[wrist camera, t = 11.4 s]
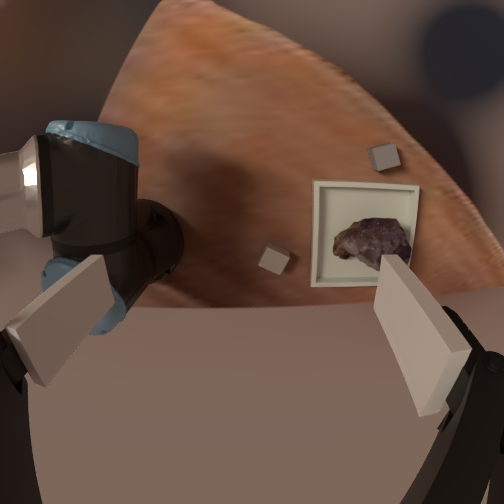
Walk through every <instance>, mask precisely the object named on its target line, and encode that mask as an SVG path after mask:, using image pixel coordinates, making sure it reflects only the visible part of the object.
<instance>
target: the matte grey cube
mask: <svg viewBox="0 0 504 504" xmlns="http://www.w3.org/2000/svg"><path fill="white" fill-rule="evenodd" d="M289 259H290V252H289V251H288V250H286V249H284V248H282V247H279V246H277V245H275V244H273V243H271V242H269V241H268V242H267V244H266V246H265V248H264V250H263V252H262V254H261V255H260V257H259V261H258V266H260V267H263V268H265V269H267V270H269V271H271V272H273V273H276V274H278V275H281V273H282V271H283V269H284V268H285V266H286V264H287V262H288V260H289Z"/></svg>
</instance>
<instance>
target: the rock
mask: <svg viewBox="0 0 504 504" xmlns="http://www.w3.org/2000/svg"><path fill="white" fill-rule="evenodd" d="M411 251H412V248H411V246H410V245H409V242H408V241H407V235H406V233H405V231H404V230H403V228H402V227H401V226H400V223H399V222H398V220H397V219H396V218H376V217H373V218H364V219H362V220H361V221H358V222H353V223H352V225H351V226H350V227H349V228H348V229H346V230H344V231H341V232H340V233H339V234H338V235H337V236H336V237H334V245H333V254H334V255H335V256H339V258H340V259H343V260H346V259H348V258H349V257H350V256H352V257H356V258H358V259H359V261H360V262H363V263H365V264H366V266H368V267H371V268H373V269H374V270H376V271H379V272H380V265H381V258H382V255H398V256H399V257H400V258H401V259H402V260H403V262H404V263H405V264H406V265H407V264H408V262H409V260H410V256H411Z"/></svg>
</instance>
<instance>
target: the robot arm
mask: <svg viewBox="0 0 504 504" xmlns="http://www.w3.org/2000/svg"><path fill="white" fill-rule="evenodd" d="M46 132H47V134H44V135H35V136H32V138H31V139H30V140H29V141H28V142H27V143H26V145H25V146H24V147H23V148H22V149H21V150H19V151H17V152H11V153H5V154H0V233H4V232H8V231H12V230H16V229H21V228H25V229H27V230H29V231H30V232H31V233H33V234H34V235H35V236H36V237H38V238H43V237H47V236H51V241H52V249H53V256H54V258H53V259H51V260H49V261H48V262H47V263H46V266H45V267H44V270H43V271H42V274H41V285H42V290H43V293H42V294H41V295H40V296H38V298H36V299H35V300H34V301H32V302H31V303H30V304H29V305H28V306H27V307H25V308H24V309H23V310H22V311H21V312H20V313H19V314H18V315H16V316H15V317H14V318H13V319H12V320H11V321H10V322H9V323H7V324H6V325H5V329H4V330H3V331H1V332H0V504H42V500H41V496H40V491H39V487H38V482H37V477H36V472H35V466H34V460H33V454H32V446H31V437H30V428H29V413H28V384H27V380H26V379H25V377H24V375H25V374H26V373H27V372H28V373H29V375H30V376H31V378H32V379H33V381H34V383H36V384H39V385H41V386H44V387H47V386H48V384H49V383H50V382H51V381H52V379H53V378H54V377H55V375H56V374H57V373H58V371H59V370H60V369H61V368H62V366H63V365H64V364H65V362H66V361H67V360H68V359H69V357H70V356H71V355H72V354H73V352H74V351H75V350H76V349H77V347H78V346H79V345H80V344H81V342H82V341H83V340H84V339H85V337H86V336H87V335H88V334H89V335H103V334H106V333H108V332H110V331H111V330H112V329H114V327H115V326H116V325H117V324H118V323H119V322H121V321H122V320H123V319H124V318H125V316H126V314H127V312H128V311H129V310H130V308H131V307H132V306H133V304H134V303H135V302H136V300H137V299H138V298H139V297H140V295H141V294H142V293H143V292H144V290H145V289H146V288H147V287H148V285H150V284H152V283H155V282H158V281H160V280H162V279H164V278H166V277H167V276H168V275H170V274H171V273H172V272H173V270H174V269H175V268H176V266H177V265H178V263H179V262H180V260H181V257H182V254H183V249H184V241H183V235H182V231H181V228H180V226H179V224H178V222H177V220H176V219H175V217H174V216H173V215H172V214H171V212H170V211H169V210H167V209H166V208H165V207H164V206H162V205H161V204H159V203H157V202H154V201H151V200H147V199H137V189H138V168H140V164H139V162H138V146H139V140H138V136H137V134H136V133H135V132H134V131H133V130H132V129H130V128H128V127H124V126H119V125H113V124H107V123H99V122H87V121H52V122H50V123H49V125H48V127H47V129H46ZM374 310H375V312H376V315H377V317H378V319H379V321H380V323H381V325H382V328H383V330H384V332H385V334H386V336H387V338H388V341H389V343H390V345H391V348H392V350H393V352H394V354H395V357H396V359H397V361H398V364H399V366H400V368H401V371H402V374H403V376H404V378H405V381H406V383H407V386H408V388H409V391H410V393H411V396H412V399H413V401H414V404H415V407H416V409H417V412H418V415H419V417H421V416H426V415H430V414H434V413H439V411H440V410H441V408H442V406H443V405H444V403H445V401H446V402H447V404H448V406H449V408H450V409H449V411H448V413H447V414H446V416H445V417H444V419H443V421H442V422H441V424H440V425H439V427H438V428H437V429H439V432H438V435H437V437H436V439H435V441H434V443H433V446H432V448H431V450H430V452H429V454H428V456H427V458H426V460H425V462H424V463H423V466H422V467H421V469H420V471H419V473H418V475H417V477H416V478H415V480H414V481H413V483H412V485H411V487H410V488H409V490H408V491H407V493H406V495H405V496H404V498H403V500H402V501H401V503H400V504H481V501H482V499H483V496H484V494H485V491H486V488H487V485H488V482H489V480H490V484H489V492H488V499H487V504H504V356H503V355H501V354H499V353H497V352H493V351H485V350H484V348H483V347H482V346H481V344H480V343H479V342H478V340H477V339H476V337H475V336H474V335H473V334H472V332H471V331H470V330H468V327H467V326H466V324H465V323H463V321H462V319H461V318H460V317H459V316H458V314H457V313H456V312H454V311H453V310H451V309H450V308H448V307H447V306H442V307H441V306H440V305H439V303H438V302H437V301H436V300H435V299H434V297H433V296H432V295H431V293H430V292H429V291H428V290H427V289H426V287H425V286H424V285H423V284H422V283H421V281H420V280H419V279H418V278H417V277H416V275H415V274H414V273H413V272H412V271H411V270H410V268H409V267H408V266H407V265H406V264H405V263H404V262H403V260H402V259H401V258H400V257H399V256H398V255H382V258H381V265H380V272H379V278H378V285H377V291H376V296H375V302H374Z"/></svg>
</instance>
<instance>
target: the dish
mask: <svg viewBox="0 0 504 504" xmlns="http://www.w3.org/2000/svg"><path fill="white" fill-rule="evenodd" d="M419 187H420V186H418V185H416V184H414V183H401V182H386V181H368V180H342V179H312V233H311V261H310V285H311V287H348V286H377V285H378V278H379V271H376V270H374V269H373V268H371V267H368V266H366V264H365V263H363V262H360V261H359V259H358V258H356V257H352V256H350V257H349V258H348V259H346V260H343V259H340V258H339V256H335V255H334V254H333V245H334V237H336V236H337V235H338V234H339V233H340V232H341V231H344V230H346V229H348V228H349V227H350V226H351V225H352V223H353V222H358V221H361V220H362V219H364V218H373V217H376V218H396V219H397V220H398V222H399V223H400V226H401V227H402V228H403V230H404V231H405V233H406V235H407V241H408V242H409V245H410V246H411V248H413V242H414V235H415V227H416V219H417V210H418V199H419ZM411 255H412V251H411ZM410 261H411V256H410V260H409V262H408V264H407V266H408V267H409V266H410Z"/></svg>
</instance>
